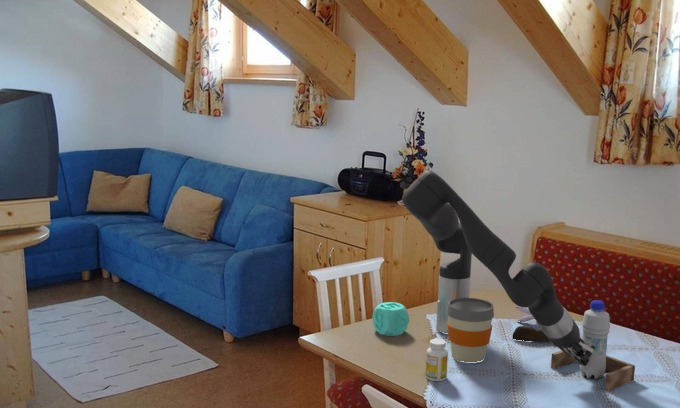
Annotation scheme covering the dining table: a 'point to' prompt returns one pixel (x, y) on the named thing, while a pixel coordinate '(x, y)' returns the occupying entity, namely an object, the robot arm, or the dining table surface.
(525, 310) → the water lily
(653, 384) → the dining table surface
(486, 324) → the reusable coffee cup
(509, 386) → the dining table surface
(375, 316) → the decorative dice
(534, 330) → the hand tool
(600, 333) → the bottle
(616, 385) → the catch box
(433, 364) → the supplement bottle
